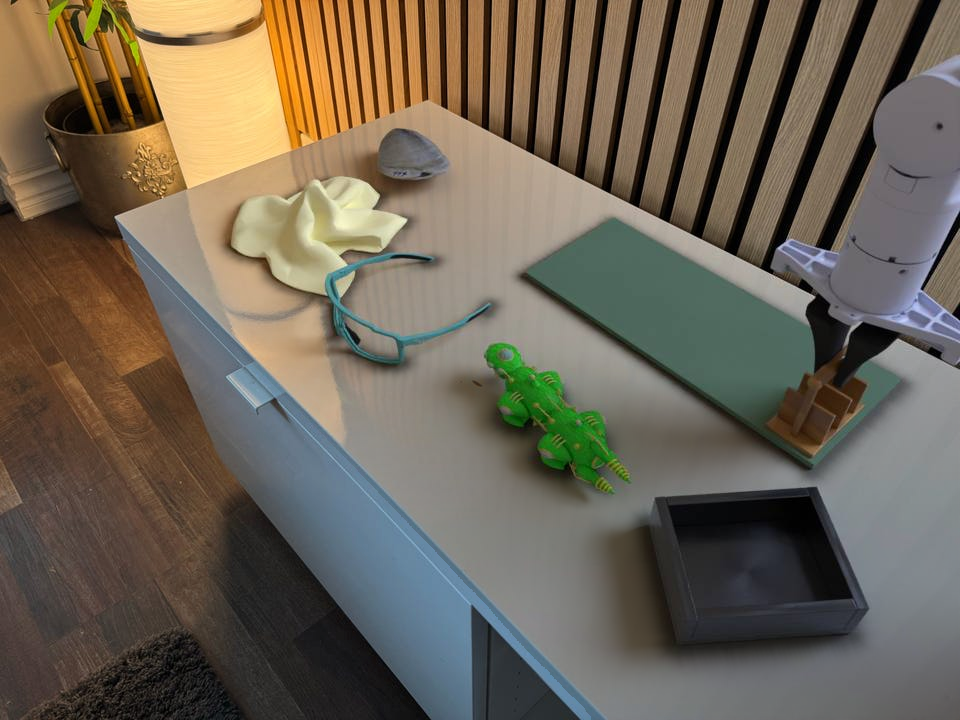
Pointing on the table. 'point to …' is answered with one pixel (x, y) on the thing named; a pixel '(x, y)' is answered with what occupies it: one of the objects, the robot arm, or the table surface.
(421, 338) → the sunglasses
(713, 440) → the table surface
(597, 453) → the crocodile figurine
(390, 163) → the seashell
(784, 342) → the drying mat
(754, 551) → the open box
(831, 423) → the dish rack
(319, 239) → the cloth
